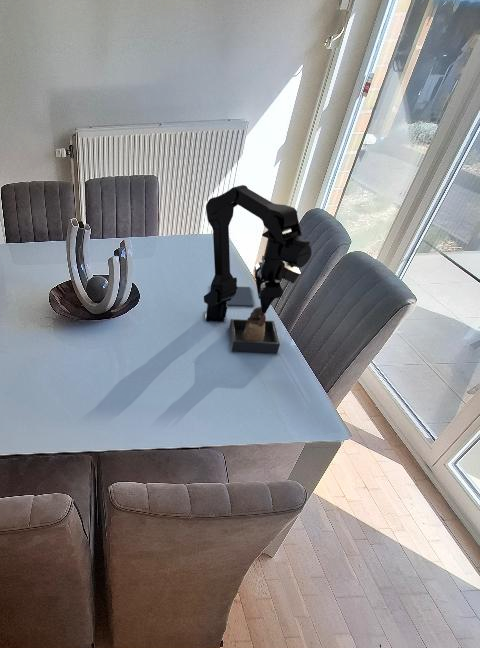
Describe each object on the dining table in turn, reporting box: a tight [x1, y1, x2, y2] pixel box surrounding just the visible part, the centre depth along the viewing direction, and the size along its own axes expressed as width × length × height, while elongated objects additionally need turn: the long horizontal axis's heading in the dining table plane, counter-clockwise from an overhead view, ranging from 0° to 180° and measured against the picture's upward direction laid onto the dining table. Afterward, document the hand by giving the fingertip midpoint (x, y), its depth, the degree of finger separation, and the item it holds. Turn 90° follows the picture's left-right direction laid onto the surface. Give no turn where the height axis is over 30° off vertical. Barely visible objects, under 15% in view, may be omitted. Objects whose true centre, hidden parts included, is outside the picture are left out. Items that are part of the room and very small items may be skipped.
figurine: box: [241, 306, 267, 342], centre depth 151 cm, size 7×7×12 cm
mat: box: [226, 286, 254, 307], centre depth 178 cm, size 15×15×1 cm
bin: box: [228, 318, 281, 355], centre depth 154 cm, size 15×15×4 cm
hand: (262, 305), depth 146 cm, fingers open, 9 cm apart
